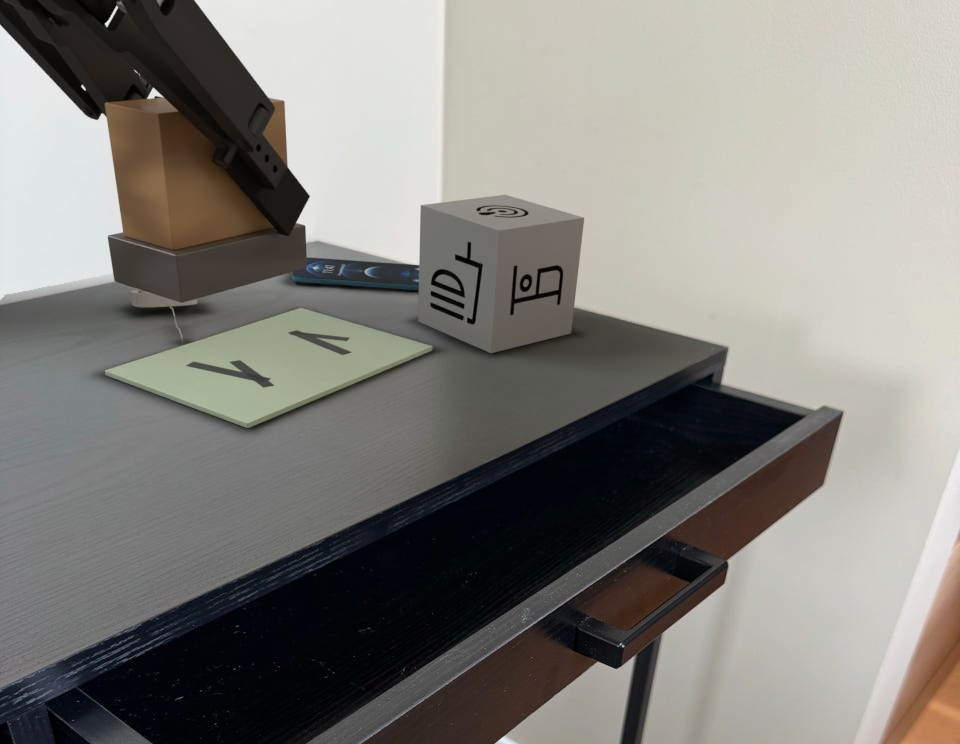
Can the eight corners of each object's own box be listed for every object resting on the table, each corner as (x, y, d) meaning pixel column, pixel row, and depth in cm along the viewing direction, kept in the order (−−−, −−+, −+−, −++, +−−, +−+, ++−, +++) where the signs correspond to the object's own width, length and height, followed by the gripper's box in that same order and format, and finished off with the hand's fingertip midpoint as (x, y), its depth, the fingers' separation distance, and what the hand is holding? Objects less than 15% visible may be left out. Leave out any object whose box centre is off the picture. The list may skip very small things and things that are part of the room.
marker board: (105, 375, 74) (104, 369, 74) (301, 311, 90) (301, 307, 89) (247, 428, 68) (247, 422, 68) (432, 350, 83) (432, 345, 83)
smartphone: (441, 287, 96) (289, 276, 96) (441, 293, 97) (290, 282, 96) (443, 266, 103) (301, 256, 102) (443, 272, 103) (301, 262, 102)
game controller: (183, 296, 91) (180, 268, 89) (243, 333, 84) (241, 302, 83) (124, 305, 88) (120, 275, 86) (181, 344, 81) (178, 312, 79)
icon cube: (490, 353, 83) (499, 230, 78) (418, 321, 89) (420, 205, 84) (571, 333, 89) (584, 217, 83) (497, 304, 95) (505, 194, 89)
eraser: (113, 281, 55) (86, 101, 49) (242, 250, 62) (230, 89, 56) (181, 303, 52) (160, 116, 47) (307, 268, 59) (301, 101, 54)
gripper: (-259, -122, 40) (122, 230, 61) (19, -101, 33) (347, 294, 54) (-171, -270, 41) (177, 128, 62) (124, -285, 33) (407, 177, 54)
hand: (255, 204), depth 58 cm, fingers closed on eraser, 5 cm apart
